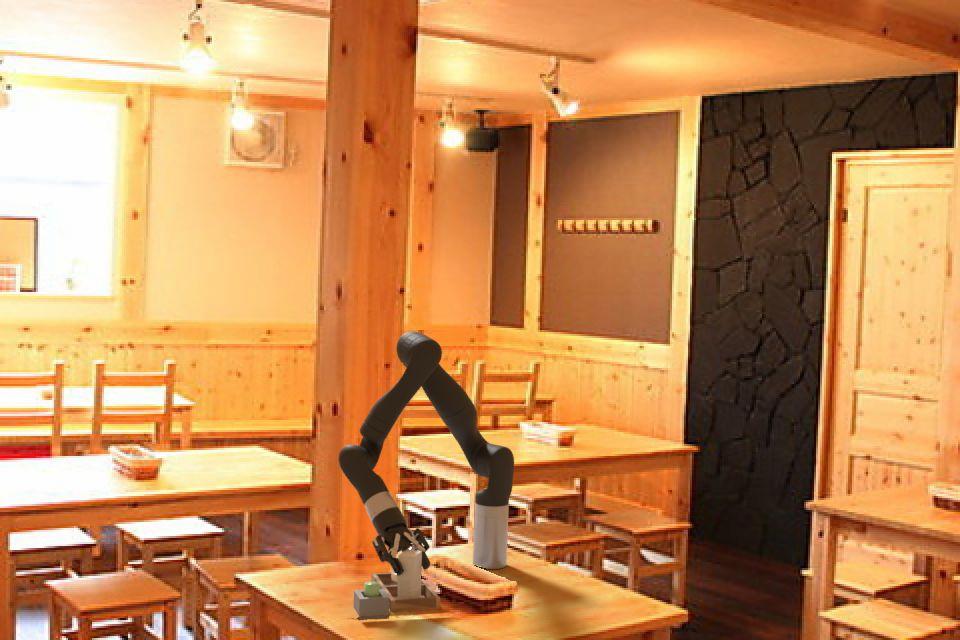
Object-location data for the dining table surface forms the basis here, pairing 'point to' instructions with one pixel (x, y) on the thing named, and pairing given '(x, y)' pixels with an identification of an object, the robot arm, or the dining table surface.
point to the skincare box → (410, 574)
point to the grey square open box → (371, 605)
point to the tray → (425, 602)
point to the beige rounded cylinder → (394, 578)
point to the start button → (371, 589)
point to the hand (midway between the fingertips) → (414, 570)
